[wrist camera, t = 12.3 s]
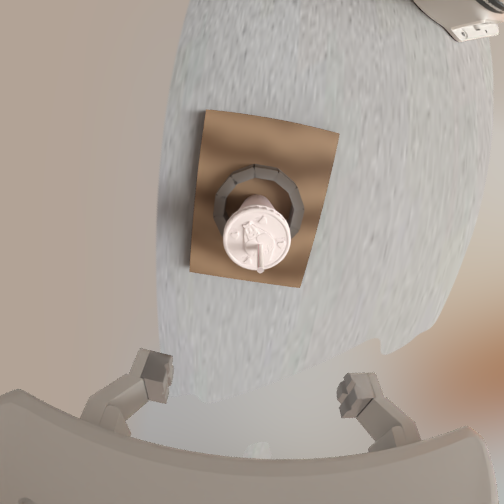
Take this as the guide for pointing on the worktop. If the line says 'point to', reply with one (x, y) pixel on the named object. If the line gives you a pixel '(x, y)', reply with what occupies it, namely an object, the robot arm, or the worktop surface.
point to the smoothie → (256, 235)
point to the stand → (259, 188)
